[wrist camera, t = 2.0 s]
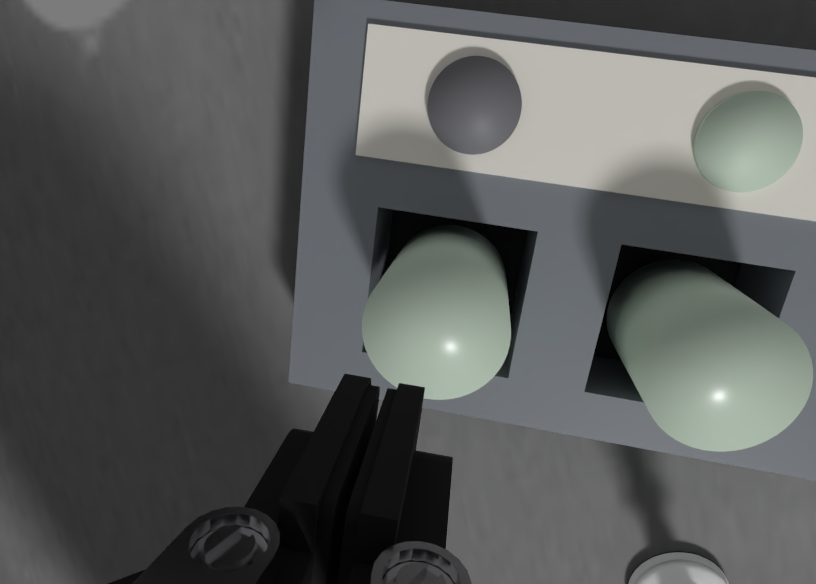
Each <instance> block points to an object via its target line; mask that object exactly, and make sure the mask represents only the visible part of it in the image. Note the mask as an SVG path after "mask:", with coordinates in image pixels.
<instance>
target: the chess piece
mask: <svg viewBox="0 0 816 584" xmlns="http://www.w3.org/2000/svg"><path fill="white" fill-rule="evenodd" d="M628 584H729V583H728V580H727V578H726V576H725V574H724V573H723V572H722V570H721V569H720V568H719V567H718V566H717V565H715V564H714V563H713V562H711V561H710V560H708V559H706V558H704V557H701V556H699V555H695V554H691V553H684V552H672V553H665V554H661V555H658V556H655V557H652V558H650V559H648V560H647V561H645V562H644V563H642V564H641V565H640V566H639V567H638V568H637V569H636V570H635V571H634V572H633V574H632V576H631V578H630V580H629V583H628Z"/></svg>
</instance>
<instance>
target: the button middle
mask: <svg viewBox="0 0 816 584" xmlns="http://www.w3.org/2000/svg"><path fill="white" fill-rule="evenodd" d="M606 322H607V330H608V334H609V337H610V339H611V341H612V343H613V345H614V347H615V349H616V351H617V353H618V355H619V356H620V358H621V360H622V362H623V364H624V366H625V368H626V370H627V371H628V373H629V375H630V377H631V379H632V381H633V383H634V385H635V386H636V388H637V390H638V392H639V394H640V396H641V398H642V400H643V401H644V403H645V405H646V407H647V409H648V411H649V413H650V414H651V416H652V418H653V419H654V421H655V422H656V423H657V424H658V426H659V427H660V428H661V429H662V430H663V431H664V432H665V433H667V434H668V435H669V436H671V437H672V438H674V439H675V440H677V441H679V442H681V443H683V444H685V445H688V446H690V447H693V448H697V449H701V450H707V451H718V452H726V451H736V450H741V449H746V448H749V447H753V446H756V445H758V444H761V443H763V442H765V441H767V440H769V439H771V438H773V437H775V436H776V435H778V434H779V433H780V432H782V431H783V430H784V429H786V428H787V427H788V426H789V425H790V424H791V423H792V422H793V421H794V420H795V419H796V417H797V416H798V415H799V414H800V412H801V411H802V409H803V408H804V406H805V404H806V402H807V400H808V398H809V395H810V392H811V388H812V383H813V365H812V359H811V356H810V353H809V351H808V348H807V347H806V345H805V343H804V341H803V340H802V339H801V337H800V336H799V335H798V333H797V332H795V331H794V330H793V329H792V328H791V327H790V326H789V325H787V324H786V323H785V322H783V321H782V320H780V319H779V318H777V317H776V316H775V315H773V314H772V313H770V312H769V311H767V310H766V309H765V308H763V307H762V306H760V305H759V304H757V303H756V302H755V301H753V300H752V299H750V298H749V297H747V296H746V295H745V294H743V293H742V292H740V291H739V290H737V289H736V288H735V287H733V286H732V285H730V284H729V283H727V282H726V281H725V280H723V279H722V278H720V277H719V276H717V275H716V274H715V273H713V272H712V271H710V270H709V269H707V268H706V267H704V266H702V265H700V264H697V263H694V262H690V261H686V260H663V261H658V262H654V263H650V264H648V265H646V266H643V267H641V268H639V269H638V270H636V271H634V272H633V273H632V274H630V275H629V276H628V277H627V278H626V279H624V280H623V281H622V283H621V284H620V285H619V286H618V287H617V289H616V290H615V292H614V293H613V296H612V298H611V300H610V302H609V305H608V310H607V319H606Z"/></svg>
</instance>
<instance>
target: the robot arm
mask: <svg viewBox="0 0 816 584" xmlns="http://www.w3.org/2000/svg"><path fill="white" fill-rule="evenodd" d="M424 392H425V387H420V386H414V385H409V384H403V383H399V384H398V388H397V390H396V389H391V388H387V391H386V394H385V397H384V400H383V403H382V406H381V409H380V412H379V415H378V418H377V410H378V402H379V394H380V387H379V386H373V385H371V378H368V377H362V376H356V375H351V374H344V375H343V377H342V379H341V381H340V383H339V385H338V387H337V389H336V391H335V393H334V394H333V396H332V398H331V400H330V402H329V404H328V406H327V408H326V410H325V412H324V414H323V416H322V417H321V419H320V421H319V423H318V425H317V427H316V429H315V431H314V432H310V431H305V430H299V429H291V431H290V432H289V433H288V435H287V437H286V438H285V440H284V442H283V443H282V445H281V447H280V448H279V450H278V452H277V453H276V455H275V457H274V458H273V460H272V462H271V463H270V465H269V467H268V468H267V470H266V472H265V473H264V475H263V477H262V478H261V480H260V482H259V483H258V485H257V487H256V488H255V490H254V492H253V493H252V495H251V497H250V498H249V500H248V502H247V503H246V505H245V507H226V508H222V509H217V510H213V511H210V512H208V513H206V514H204V515H202V516H200V517H198V518H197V519H195V520H194V521H193V522H192V523H190V524H189V525H188V526H187V527H186V528H185V529H184V530H183V531H182V532H181V533H180V534H179V535H178V536H177V537H176V538H175V539H174V540H173V541H172V543H171V544H170V545H169V546H168V547H167V548H166V549H165V550H164V551H163V552H162V553H161V554H160V555H159V556H158V557H157V558H156V559H155V560H154V561H153V562H152V563H151V565H150V566H149V567H148V568H147V569H146V570H143V571H141V572H138V573H135V574H133V575H130V576H127V577H125V578H122V579H119V580H117V581H114V582H112V583H109V584H472V583H471V580H470V577H469V574H468V571H467V569H466V568H465V567H464V565H463V564H462V563H461V561H460V560H459V559H458V558H457V557H455V556H454V555H453V554H452V553H450V552H449V551H448V550H446V536H447V524H448V511H449V499H450V486H451V474H452V460H453V458H452V457H448V456H443V455H437V454H432V453H426V452H421V451H416V444H417V438H418V431H419V425H420V418H421V412H422V405H423V399H424ZM376 418H377V421H376Z"/></svg>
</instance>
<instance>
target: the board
mask: <svg viewBox="0 0 816 584" xmlns="http://www.w3.org/2000/svg"><path fill="white" fill-rule="evenodd" d="M393 210H400V211H406V212H413V213H419V214H426V215H432V216H439V217H445V218H452V219H459V220H465V221H472V222H478V223H485V224H491V225H498V226H504V227H511V228H517V229H524V230H528V231H527V237H526V242H525V247H524V252H523V257H522V262H521V267H520V272H519V277H518V282H517V287H516V292H515V297H514V302H513V307H512V313H511V318H510V322H511V340H510V347H509V350H508V354H507V356H506V359H505V361H504V363H503V365H502V366H501V368H500V370H499V371H498V372H497V373H496V375H495V376H494V377H493V378H492V379H491V380H490V381H489V382H488V383H487V384H485V385H484V386H483V387H481V388H480V389H478V390H476V391H474V392H472V393H470V394H468V395H465V396H462V397H458V398H454V399H447V400H432V399H423V405H422V408H427V409H433V410H438V411H443V412H449V413H454V414H460V415H465V416H470V417H476V418H481V419H486V420H492V421H497V422H502V423H508V424H513V425H519V426H524V427H529V428H535V429H540V430H545V431H551V432H556V433H561V434H567V435H572V436H578V437H583V438H588V439H594V440H599V441H604V442H610V443H615V444H620V445H626V446H631V447H637V448H642V449H647V450H653V451H658V452H663V453H669V454H674V455H679V456H685V457H690V458H696V459H701V460H706V461H712V462H717V463H722V464H728V465H733V466H738V467H744V468H749V469H754V470H760V471H765V472H771V473H776V474H781V475H787V476H792V477H797V478H803V479H808V480H813V481H816V50H808V49H799V48H791V47H782V46H774V45H765V44H756V43H748V42H739V41H731V40H722V39H713V38H705V37H696V36H688V35H679V34H670V33H662V32H653V31H644V30H636V29H627V28H619V27H610V26H601V25H593V24H584V23H576V22H567V21H558V20H550V19H541V18H533V17H524V16H515V15H507V14H498V13H490V12H481V11H472V10H464V9H455V8H446V7H438V6H429V5H421V4H412V3H403V2H395V1H386V0H314V13H313V28H312V42H311V57H310V72H309V87H308V101H307V116H306V131H305V146H304V160H303V175H302V190H301V205H300V219H299V234H298V249H297V263H296V278H295V293H294V308H293V322H292V337H291V352H290V367H289V381H288V383H293V384H299V385H304V386H309V387H315V388H320V389H326V390H331V391H336V389H337V387H338V385H339V383H340V381H341V379H342V377H343V375H344V374H351V375H356V376H362V377H368V378H371V385H373V386H379V387H380V394H379V400H384V397H385V394H386V391H387V388H391V389H396V390H397V387H395V386H394V385H392V384H391V383H390V382H388V381H387V380H386V379H385V378H384V377H383V376H382V375H381V374H380V373H379V372H378V371H377V369H376V368H375V366H374V365H373V364H372V362H371V360H370V358H369V356H368V354H367V351H366V349H365V346H364V342H363V337H362V318H363V312H364V309H365V305H366V302H367V300H368V298H369V296H370V294H371V293H372V291H373V290H374V288H375V287H376V285H377V284H378V283H379V281H380V280H381V278H382V277H383V275H384V274H385V272H386V267H387V259H388V250H389V242H390V233H391V225H392V217H393ZM621 244H622V245H629V246H635V247H642V248H648V249H655V250H662V251H668V252H675V253H681V254H688V255H694V256H701V257H707V258H714V259H720V260H727V261H734V262H740V263H741V266H740V270H739V273H738V276H737V279H736V282H735V285H734V287H735V288H736V289H737V290H739V291H740V292H742V293H743V294H745V295H746V296H747V297H749V298H750V299H752V300H753V301H755V302H756V303H757V304H759V305H760V306H762V307H763V308H765V309H766V310H767V311H769V312H770V313H772V314H773V315H775V316H776V317H777V318H779V319H780V320H782V321H783V322H785V323H786V324H787V325H789V326H790V327H791V328H792V329H793V330H794V331H795V332H797V333H798V335H799V336H800V337H801V339H802V340H803V341H804V343H805V345H806V347H807V348H808V351H809V353H810V356H811V359H812V365H813V383H812V388H811V392H810V395H809V398H808V400H807V402H806V404H805V406H804V408H803V409H802V411H801V412H800V414H799V415H798V416H797V417H796V419H795V420H794V421H793V422H792V423H791V424H790V425H789V426H788V427H787V428H786V429H784V430H783V431H782V432H780V433H779V434H778V435H776V436H775V437H773V438H771V439H769V440H767V441H765V442H763V443H761V444H758V445H756V446H753V447H749V448H746V449H741V450H736V451H726V452H718V451H707V450H701V449H697V448H693V447H690V446H688V445H685V444H683V443H681V442H679V441H677V440H675V439H674V438H672V437H671V436H669V435H668V434H667V433H665V432H664V431H663V430H662V429H661V428H660V427H659V426H658V424H657V423H656V422H655V421H654V419H653V418H652V416H651V414H650V413H649V411H648V409H647V407H646V405H645V403H644V401H643V400H642V398H641V396H640V394H639V392H638V390H637V388H636V386H635V385H634V383H633V381H632V379H631V377H630V375H629V373H628V371H627V370H626V368H625V366H624V364H623V362H622V361H620V360H615V359H609V358H603V357H597V356H593V355H594V351H595V347H596V344H597V340H598V336H599V332H600V328H601V324H602V320H603V316H604V312H605V308H606V304H607V300H608V296H609V292H610V288H611V284H612V280H613V276H614V272H615V268H616V264H617V260H618V256H619V252H620V248H621Z"/></svg>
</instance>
